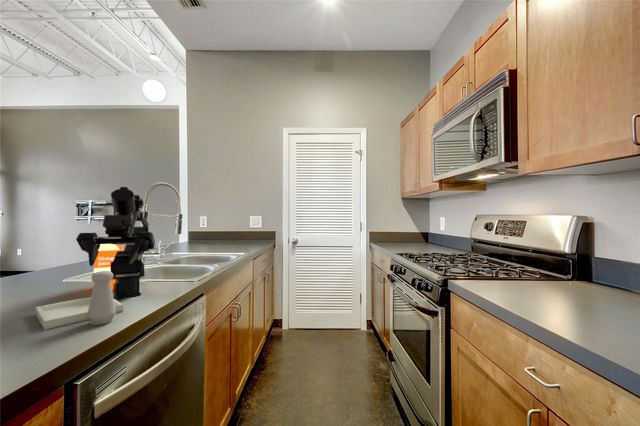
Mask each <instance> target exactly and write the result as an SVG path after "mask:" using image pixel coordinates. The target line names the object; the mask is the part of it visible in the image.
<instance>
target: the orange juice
mask: <svg viewBox="0 0 640 426" xmlns="http://www.w3.org/2000/svg"><path fill="white" fill-rule="evenodd" d="M106 235H107V236H106V237H108V234H106ZM123 246H124V245H116V244H114V245H112V244H100V248H99V249H98V250H99V253H98V256H97V258H96V260H95V262H94V264H93V274H94V273H96V272H100V271H111V269H110V267H111V262H112V261H113V260H114V258H115V255H116V252H118V251H124V247H123ZM114 283H115V279H114V280H110V285H111V290H112V291H113V284H114ZM94 284H95V282H93V285H94Z"/></svg>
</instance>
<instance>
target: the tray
mask: <svg viewBox="0 0 640 426" xmlns="http://www.w3.org/2000/svg"><path fill="white" fill-rule="evenodd" d="M113 299H114V304H115V308H116V313H115V314H118V313H122V312H124V304H123V303H121V302H120V301H118V300H116V299H115V297H113ZM90 300H91V296H89V297H83V298H77V299H72V300H68V301H67V300H66V301H61V302H57V303H51V304H46V305H45V304H44V305H39V306H35V316H36V318H37V319H38V322H39V323H40V325H41V326H42V328H43V330H48V329H49V330H50V329H53V328H58V327H61V326H66V325H69V324H74V323H78V322H83V321H87V320H88V321H89V319H88V317H87V313H88V309H89V305H90Z"/></svg>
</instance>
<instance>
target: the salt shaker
mask: <svg viewBox="0 0 640 426" xmlns="http://www.w3.org/2000/svg"><path fill="white" fill-rule="evenodd" d="M112 279H113V273H112V272H111V271H100V272H96V273H94V272H93V274H91V281H92V282H93V287H92V288H93V289H92V294H91V296H90V297H91V300H90V305H89V309H88V313H87V317H88V321H89V322H90V324H91V325H93V326H101V325H102V326H103V325H107V324H110V323H111V322H112V320H113V318H115V317H114V316H115V315H116V314H117V313H116V308H115V304H114V299H115V298H114V296H113V290H111V285H110V280H112ZM94 282H95V284H94ZM113 298H114V299H113Z"/></svg>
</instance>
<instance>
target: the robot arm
mask: <svg viewBox="0 0 640 426" xmlns="http://www.w3.org/2000/svg"><path fill="white" fill-rule="evenodd" d="M110 197H111V204H112V208H113V211H114V212H115V213H116V214H105V215H104V216H103V223H102V227H103V228H104V229H105V231H104V233H105V234H106V235H108V237H107V236H98V234H97V232H80V233H78V235H77V237H76V239H75V241H76V242H77V244H78V245H79V247H80V249H81V251H83V252H86V253H87V254H88V264H89V266H90V267H94V262H95V260H96V258H97V256H98V253H99V250H98V249H99V248H100V244H112V245H114V244H116V245H122V246H124V245H125V246H124V247H123V251H118V252H116V255H115V258H114V260H113V261H112V262H111V267H110V269H111V272H112V273H113V279H112V280H114V279H115V283H114V284H113V290H112V295H113V297H114V298H117V299H118V300H121V299H127V298H132V297H137V296H141V295H142V292H140V280H141V279H140V278H143V277H145V273H146V272H145V263H144V262H143V259H141V255H142V254H144V253H145V252H149V250H153V249H155V246H156V241H155V236H154V233H153V232H151V231H150V226H149V222H148V221H147V220H146V218H144V211H141V210H142V208H143V207H144V205H145V201H143V199H142V198H141V197H140V195H139V194H134V192H133V191H132V190H131V189H129V187H128V186H120V188H117V189H115V190H114V191H112V192H111V193H110ZM136 222H140V223H141V224H142V225H143V226H135V225H136Z"/></svg>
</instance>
